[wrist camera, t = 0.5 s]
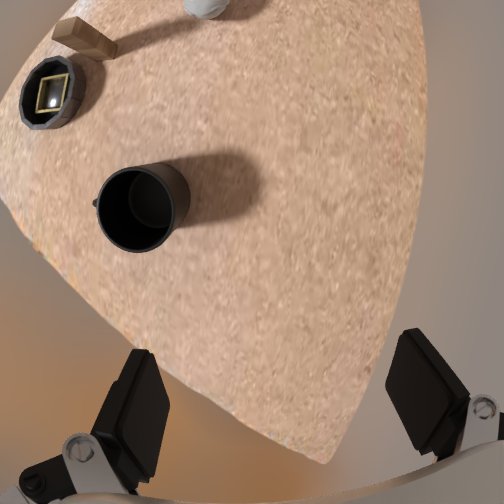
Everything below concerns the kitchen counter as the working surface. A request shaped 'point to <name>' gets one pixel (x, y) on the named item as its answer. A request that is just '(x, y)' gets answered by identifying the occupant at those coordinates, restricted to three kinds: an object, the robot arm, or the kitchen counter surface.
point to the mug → (142, 206)
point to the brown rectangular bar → (84, 39)
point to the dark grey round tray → (52, 93)
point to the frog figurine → (205, 8)
